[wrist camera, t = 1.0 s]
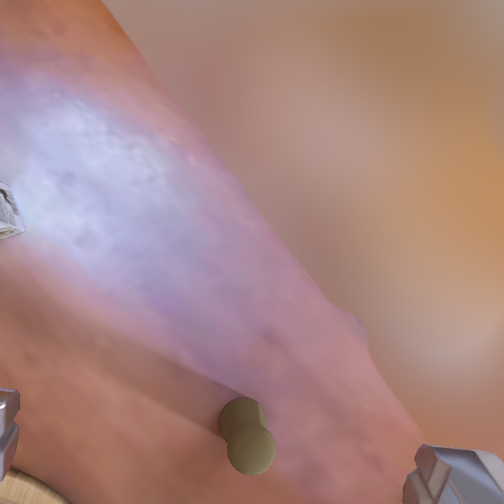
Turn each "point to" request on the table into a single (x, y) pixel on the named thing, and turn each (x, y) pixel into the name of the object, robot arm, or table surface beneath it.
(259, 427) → the olive pawn
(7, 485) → the wooden plate
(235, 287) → the table surface
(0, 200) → the coffee box
